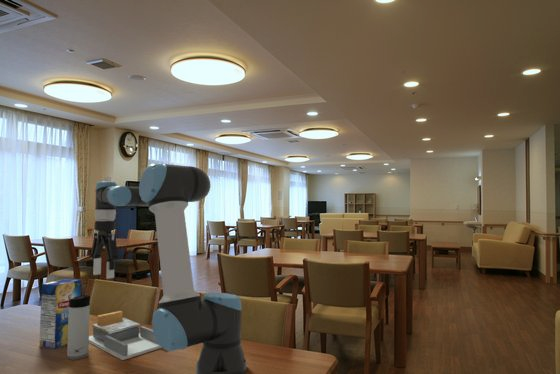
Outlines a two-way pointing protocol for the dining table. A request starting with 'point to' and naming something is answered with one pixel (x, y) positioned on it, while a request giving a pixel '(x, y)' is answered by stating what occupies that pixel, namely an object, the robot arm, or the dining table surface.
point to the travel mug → (78, 327)
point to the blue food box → (56, 311)
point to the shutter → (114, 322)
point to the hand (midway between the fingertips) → (103, 276)
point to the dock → (125, 342)
